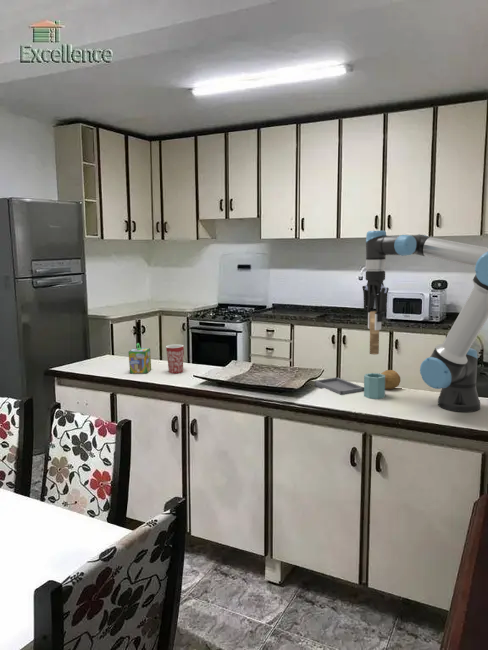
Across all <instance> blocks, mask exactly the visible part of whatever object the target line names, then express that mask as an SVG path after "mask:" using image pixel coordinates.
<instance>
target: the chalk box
mask: <svg viewBox="0 0 488 650" xmlns="http://www.w3.org/2000/svg"><path fill="white" fill-rule="evenodd" d="M135 346H136V348H132V349H130V350H129V351H128V352H127V353H128V363H129V364H128V366H129V374H132V375H133V374H148V373H149V372H150V371H151V370H152V360H151V359H152V357H151V356H152V355H151V348H148V347H147V348H145V347H142V348H141V345H140V342H137V343H136V345H135Z"/></svg>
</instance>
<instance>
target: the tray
mask: <svg viewBox="0 0 488 650" xmlns="http://www.w3.org/2000/svg"><path fill="white" fill-rule="evenodd" d="M314 387H316V388H319V389H326V390H328V391H331V392H333V393H335V394H337V395H340V396H342V395H349V394H354V393H360V392H364V386H361V385H358V384H356V383H353V382H351V381H348V380H345V379H342V378H340V377H330V378H325V379H317V380H316V379H315V380H314Z"/></svg>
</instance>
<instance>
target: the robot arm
mask: <svg viewBox="0 0 488 650" xmlns="http://www.w3.org/2000/svg"><path fill="white" fill-rule="evenodd" d="M365 237H366V239H365V249H366V250H365V270H366V271H365V280H366V281H367V283H366V285H362V291H363V292H362V293H363V310H364V311H366V313H367V329H369V330H370V312H371V311H376V313H375V330H379V331H380V330H382V322H383V314H384V313H387V305H388V304H387V303H388V293H389V290H390V289H389V287H386V286H385V285H384V281H385V280H386V271H385V270H386V256H402V257H403V256H411V255H416V256H423V257H428V258H431V259H437V260H439V261H440V260H441V261H444V262H450V263H454V264H455V263H456V264H460V265H464V266H468V267H474V271H475V275H474V277H473V279H472V282H473V285H474V287H473V289H472V290H471V292H470V294H469V296H468V298H467V300H466V301H465V302H464V304H463V306H462V308H461V310H460V312H459V314H458V316H457V317H456V319H455V320H454V323H453V325H452V326H451V328H450V330H449V331H448V333H447V334H446V335H447V336H446V337H445V338H444V341H443V343H440V344H437V345H436V346H435V348H434V349H433V351H432V353H431V355H430V357H426V358H425V359H424V360H422V362H421V363H420V367H419V373H420V375H421V379H422V380H423V382H424V383H425V385H427V386H429V388H433V389H437V390H440V393H439V396H438V398H437V406H438V407H440V408H441V409H444V410H447V411H453V412H460V413H468V412H469V413H471V412H476V411H479V410H480V409H481V400H480V399H479V394H478V390H477V378H478V377H477V375H478V374H477V373H478V359H479V358H478V351H477V350H476V349H475V348H471V347H472V346H473V344H474V342H475V341H476V339H477V337H478V335H479V333H480V332H481V330H482V328H483V326H484V325H485V324H486V322H487V320H488V247H486V246H481V245H475V244H469V243H465V242H458V241H454V240H453V241H452V240H450V239H449V240H447V239H441V238H436V237H433V236H432V237H430V236H428V235H425V234H420V233H419V234H400V235H399V234H397V235H396V234H395V235H393V234H391V235H387V232H386V230H368V231H367V232H366V236H365ZM374 309H375V310H374Z"/></svg>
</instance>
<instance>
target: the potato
mask: <svg viewBox="0 0 488 650" xmlns="http://www.w3.org/2000/svg"><path fill="white" fill-rule="evenodd" d="M380 374H383V375H385V390H394V389H396V388H397V387H399V386H400V384H401V376H400V374H398V372H397V371H396V370H394V369H387V370H385V371H383V372H381V373H380Z"/></svg>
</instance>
